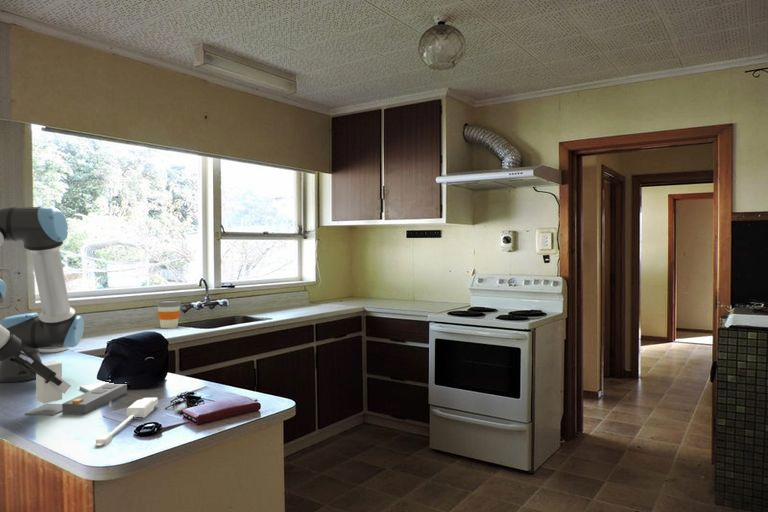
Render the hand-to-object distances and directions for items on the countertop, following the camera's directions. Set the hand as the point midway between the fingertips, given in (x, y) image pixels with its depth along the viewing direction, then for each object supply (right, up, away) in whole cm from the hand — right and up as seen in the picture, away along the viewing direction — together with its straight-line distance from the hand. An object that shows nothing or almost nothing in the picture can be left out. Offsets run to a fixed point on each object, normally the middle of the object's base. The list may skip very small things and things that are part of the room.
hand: (62, 387), depth 164 cm
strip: (+8, -6, +9) cm, 13 cm away
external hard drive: (+1, -6, +22) cm, 22 cm away
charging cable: (+27, -7, -14) cm, 31 cm away
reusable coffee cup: (-25, -1, +144) cm, 146 cm away
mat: (-2, -6, -3) cm, 7 cm away
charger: (-2, -3, -3) cm, 5 cm away
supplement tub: (-52, -3, +81) cm, 96 cm away
